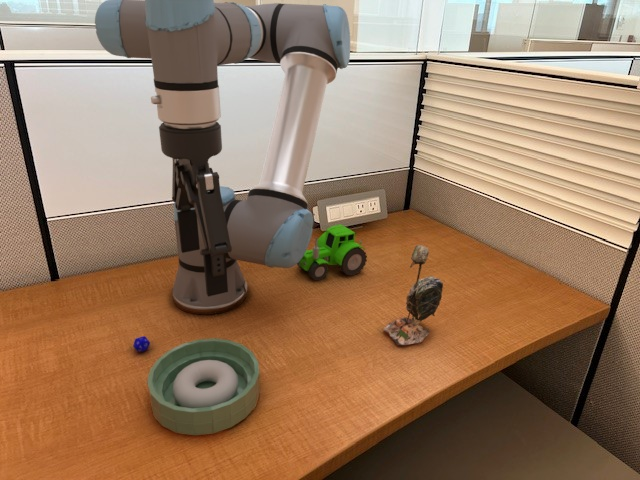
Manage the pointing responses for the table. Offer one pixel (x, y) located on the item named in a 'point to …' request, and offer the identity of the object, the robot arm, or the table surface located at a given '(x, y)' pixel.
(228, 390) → the donut
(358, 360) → the table surface
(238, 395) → the green ribbed bowl
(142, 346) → the die
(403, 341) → the stacked rock sculpture
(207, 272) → the robot arm
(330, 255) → the toy tractor
